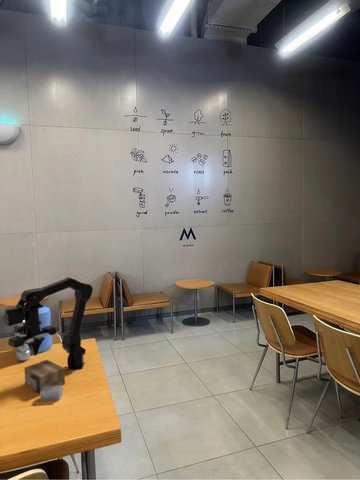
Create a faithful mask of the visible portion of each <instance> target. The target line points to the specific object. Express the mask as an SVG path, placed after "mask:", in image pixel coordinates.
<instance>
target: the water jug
mask: <svg viewBox="0 0 360 480" xmlns="http://www.w3.org/2000/svg"><path fill="white" fill-rule="evenodd" d="M51 316H52V315H51V309H50V308H49V307H46V306H44V307H43V308H39V321H41V324H40V331H41V329H42V328H43V327H46V326H51V321H52V318H51ZM52 336H53V335H49V334H48V333H47V334H44V335H43V338H45V340H43V342H42V343H41V345H40V348H39V350H38V353H37V354H40V352H41V353H43V352H46V351H48V350H50V349H51V348H52V346H53V339H52V338H53V337H52ZM29 349H30V348H29ZM30 353H31V354H30V355H33V353H32V351H31V349H30Z"/></svg>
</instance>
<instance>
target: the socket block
mask: <svg viewBox="0 0 360 480" xmlns="http://www.w3.org/2000/svg"><path fill="white" fill-rule="evenodd" d="M23 370H24V384H25V385H26V386H28V387H30V388H31V378H32V377H35V378H37V379H38V386H39V389H38V390H35V391H36V392H37V393H39V394H40V392H41V390H42V389H43V387H44V386H62V387H63V386H64V385H65V384H66V379H65V367H63V366H61V365H60V364H57V363H55V362H52V361H51V360H48V359H44V360H42V361H39V362H37V363H34V364H31V365H28V366H26V367H24V368H23ZM31 389H33V388H31ZM33 390H34V389H33Z"/></svg>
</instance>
